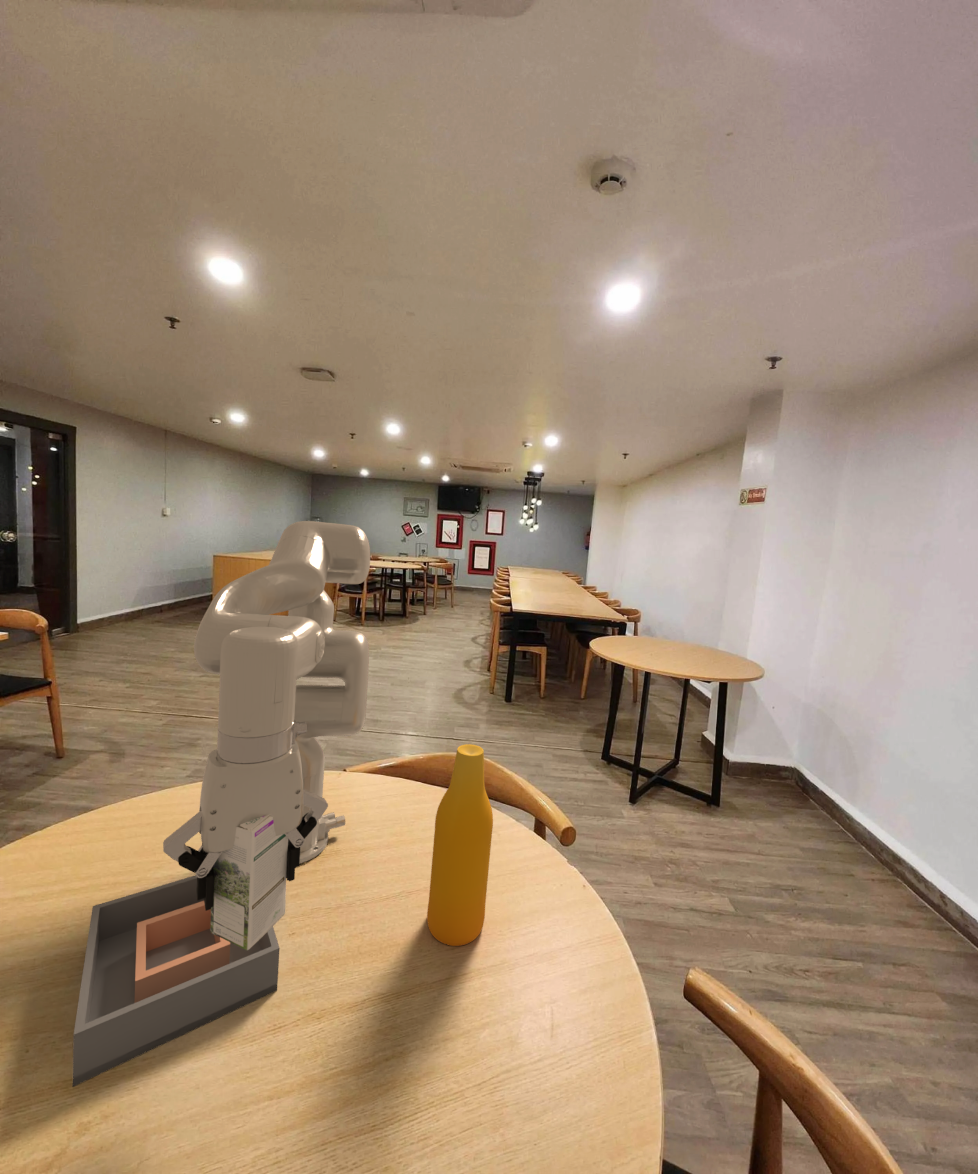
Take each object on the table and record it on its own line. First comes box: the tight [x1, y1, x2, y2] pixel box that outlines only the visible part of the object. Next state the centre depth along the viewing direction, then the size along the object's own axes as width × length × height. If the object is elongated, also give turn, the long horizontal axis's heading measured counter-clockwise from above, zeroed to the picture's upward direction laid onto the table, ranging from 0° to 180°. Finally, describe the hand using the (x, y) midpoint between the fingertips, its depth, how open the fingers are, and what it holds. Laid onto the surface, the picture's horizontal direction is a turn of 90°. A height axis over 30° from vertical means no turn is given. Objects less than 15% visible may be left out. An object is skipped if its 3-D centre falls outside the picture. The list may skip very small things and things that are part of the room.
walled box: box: [72, 874, 281, 1088], centre depth 61 cm, size 20×20×6 cm
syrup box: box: [210, 815, 288, 950], centre depth 52 cm, size 6×6×14 cm
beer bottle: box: [426, 743, 494, 947], centre depth 72 cm, size 9×9×29 cm
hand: (249, 886), depth 52 cm, fingers closed on syrup box, 7 cm apart
